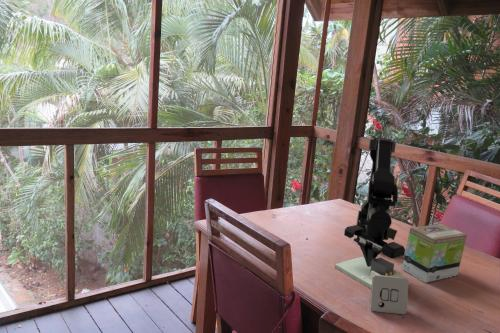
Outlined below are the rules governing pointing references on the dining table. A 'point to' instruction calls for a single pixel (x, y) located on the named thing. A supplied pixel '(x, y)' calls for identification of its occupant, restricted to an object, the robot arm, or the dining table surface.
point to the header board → (361, 271)
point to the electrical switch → (389, 294)
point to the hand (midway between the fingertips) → (368, 266)
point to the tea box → (433, 252)
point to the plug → (381, 266)
